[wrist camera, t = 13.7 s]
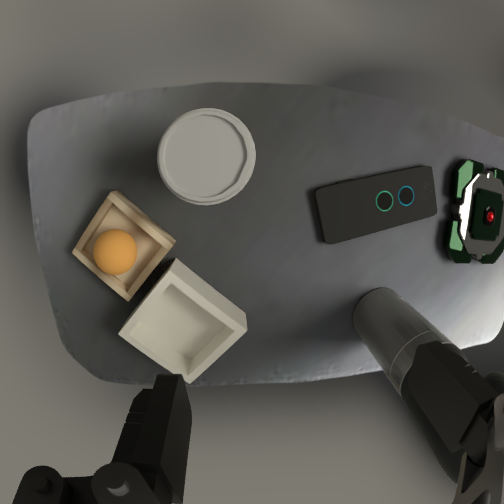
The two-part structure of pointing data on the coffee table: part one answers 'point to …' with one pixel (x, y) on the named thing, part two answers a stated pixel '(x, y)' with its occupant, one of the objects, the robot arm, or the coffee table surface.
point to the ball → (115, 251)
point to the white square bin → (184, 323)
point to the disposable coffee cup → (206, 156)
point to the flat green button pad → (476, 214)
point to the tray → (142, 231)
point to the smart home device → (375, 203)
